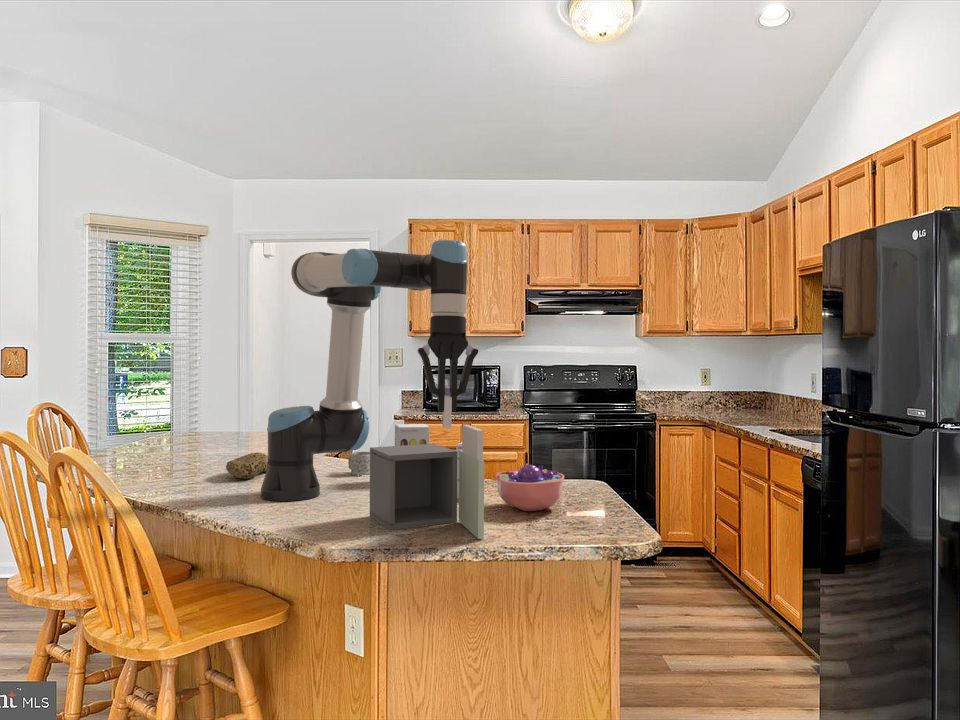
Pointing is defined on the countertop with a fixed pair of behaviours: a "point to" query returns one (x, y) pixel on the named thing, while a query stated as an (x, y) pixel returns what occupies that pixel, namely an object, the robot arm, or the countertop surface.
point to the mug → (359, 463)
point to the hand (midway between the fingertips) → (446, 427)
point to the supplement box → (411, 434)
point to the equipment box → (413, 485)
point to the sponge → (248, 465)
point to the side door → (471, 481)
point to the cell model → (530, 487)
